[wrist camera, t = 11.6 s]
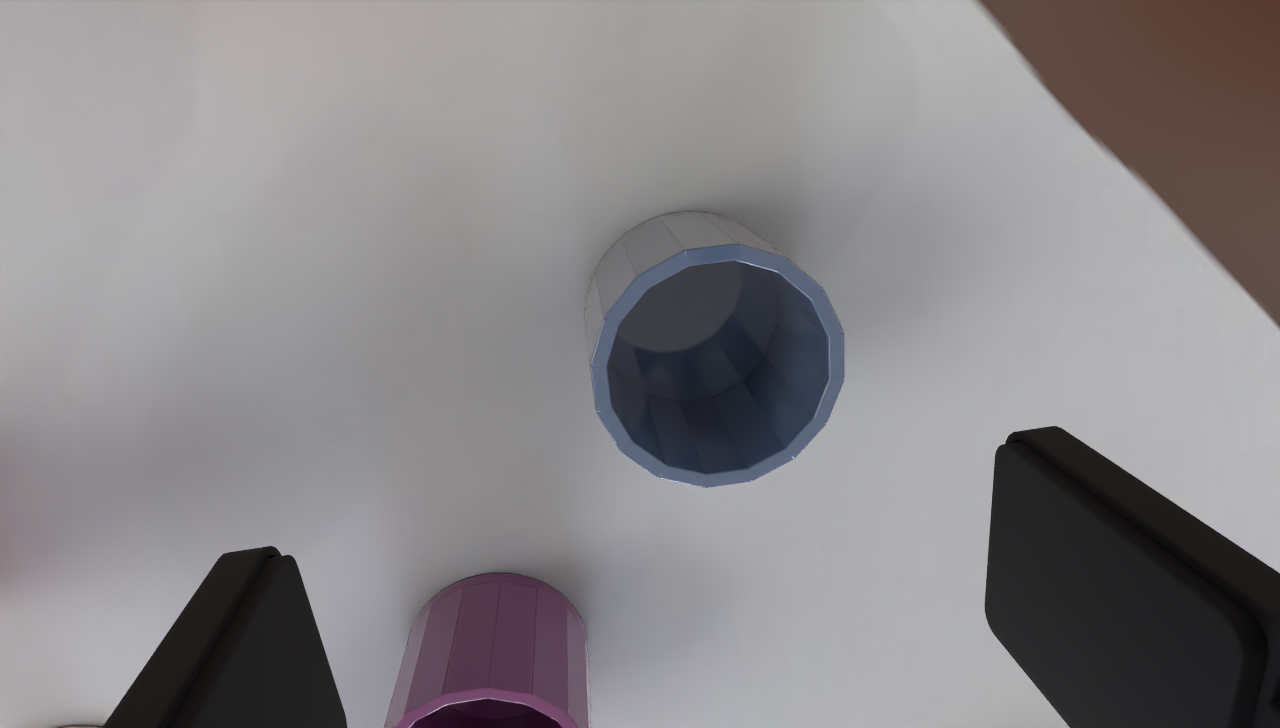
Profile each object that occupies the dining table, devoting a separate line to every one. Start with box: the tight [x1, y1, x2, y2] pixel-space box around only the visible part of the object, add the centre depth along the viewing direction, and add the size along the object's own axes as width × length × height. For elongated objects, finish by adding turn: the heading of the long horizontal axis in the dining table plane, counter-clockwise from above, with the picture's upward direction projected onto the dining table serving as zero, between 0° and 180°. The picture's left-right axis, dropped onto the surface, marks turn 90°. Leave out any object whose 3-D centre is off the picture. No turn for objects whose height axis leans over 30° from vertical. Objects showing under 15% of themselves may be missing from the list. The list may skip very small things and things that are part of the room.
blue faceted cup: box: [584, 212, 844, 488], centre depth 23 cm, size 7×7×6 cm
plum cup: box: [384, 573, 592, 728], centre depth 27 cm, size 7×7×6 cm
